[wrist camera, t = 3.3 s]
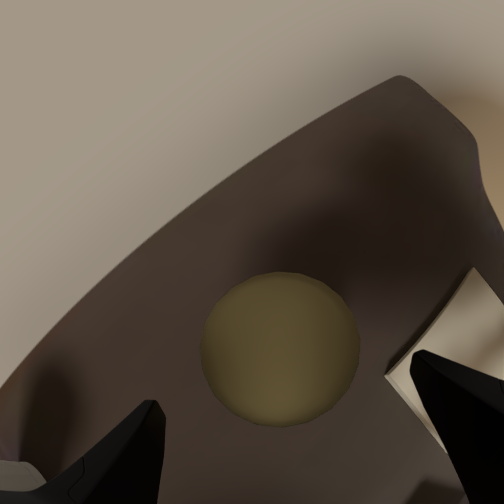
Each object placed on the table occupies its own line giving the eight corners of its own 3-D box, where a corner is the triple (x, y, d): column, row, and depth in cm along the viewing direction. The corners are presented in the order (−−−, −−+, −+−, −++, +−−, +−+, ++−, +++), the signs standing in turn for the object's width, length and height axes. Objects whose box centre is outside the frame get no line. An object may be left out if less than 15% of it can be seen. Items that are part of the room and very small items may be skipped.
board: (529, 360, 12) (536, 358, 11) (459, 470, 10) (466, 472, 9) (468, 272, 18) (473, 266, 17) (383, 375, 15) (389, 374, 14)
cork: (312, 422, 14) (355, 466, 5) (223, 398, 16) (144, 403, 6) (336, 337, 17) (398, 265, 8) (251, 316, 19) (215, 225, 9)
